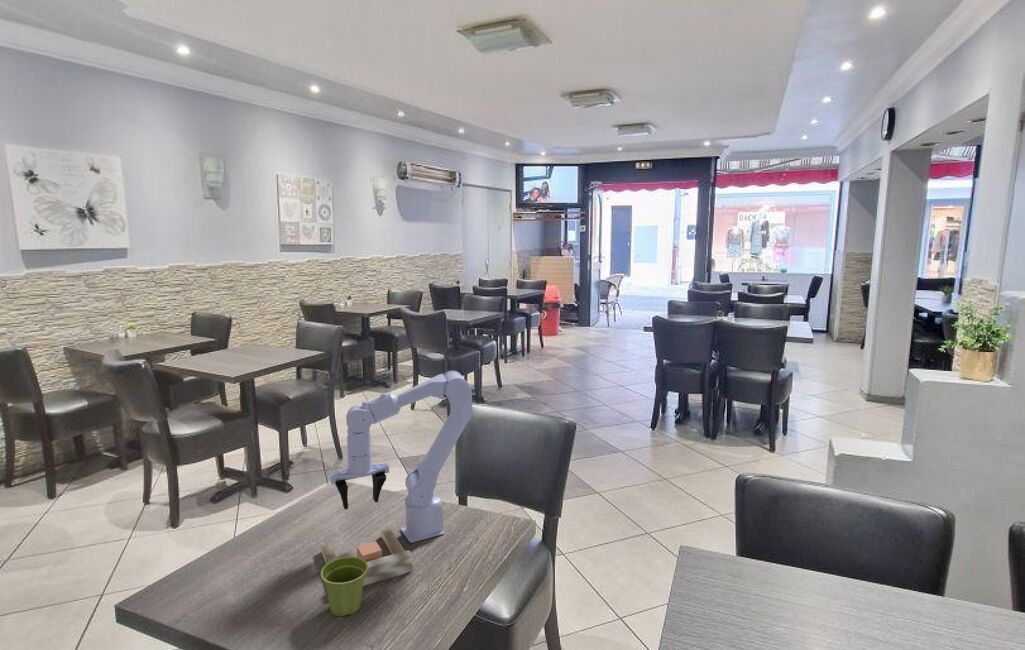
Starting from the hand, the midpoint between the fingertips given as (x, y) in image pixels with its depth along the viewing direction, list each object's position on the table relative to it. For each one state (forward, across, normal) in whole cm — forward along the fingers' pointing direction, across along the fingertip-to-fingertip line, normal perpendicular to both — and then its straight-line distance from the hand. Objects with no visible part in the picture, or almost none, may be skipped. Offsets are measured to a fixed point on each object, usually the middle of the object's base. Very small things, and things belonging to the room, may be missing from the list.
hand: (360, 504), depth 138 cm
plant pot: (+10, +10, +24) cm, 28 cm away
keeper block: (+10, +2, +14) cm, 17 cm away
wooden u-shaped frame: (+10, +2, +10) cm, 14 cm away
